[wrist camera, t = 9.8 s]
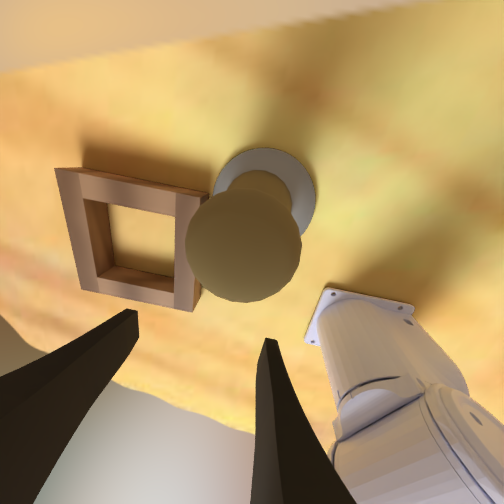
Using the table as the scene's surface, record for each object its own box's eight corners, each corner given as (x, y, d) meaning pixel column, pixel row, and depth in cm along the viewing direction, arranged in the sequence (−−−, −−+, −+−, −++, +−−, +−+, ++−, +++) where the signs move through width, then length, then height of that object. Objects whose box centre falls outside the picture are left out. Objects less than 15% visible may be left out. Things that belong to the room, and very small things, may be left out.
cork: (229, 162, 16) (160, 162, 6) (300, 178, 16) (345, 203, 6) (219, 231, 19) (160, 307, 9) (281, 244, 19) (292, 337, 9)
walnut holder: (209, 193, 18) (200, 197, 16) (200, 297, 23) (192, 312, 21) (81, 167, 18) (54, 168, 16) (100, 276, 23) (81, 289, 21)
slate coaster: (328, 160, 16) (330, 160, 16) (298, 257, 20) (298, 260, 19) (220, 138, 16) (218, 137, 16) (210, 239, 20) (208, 241, 19)
